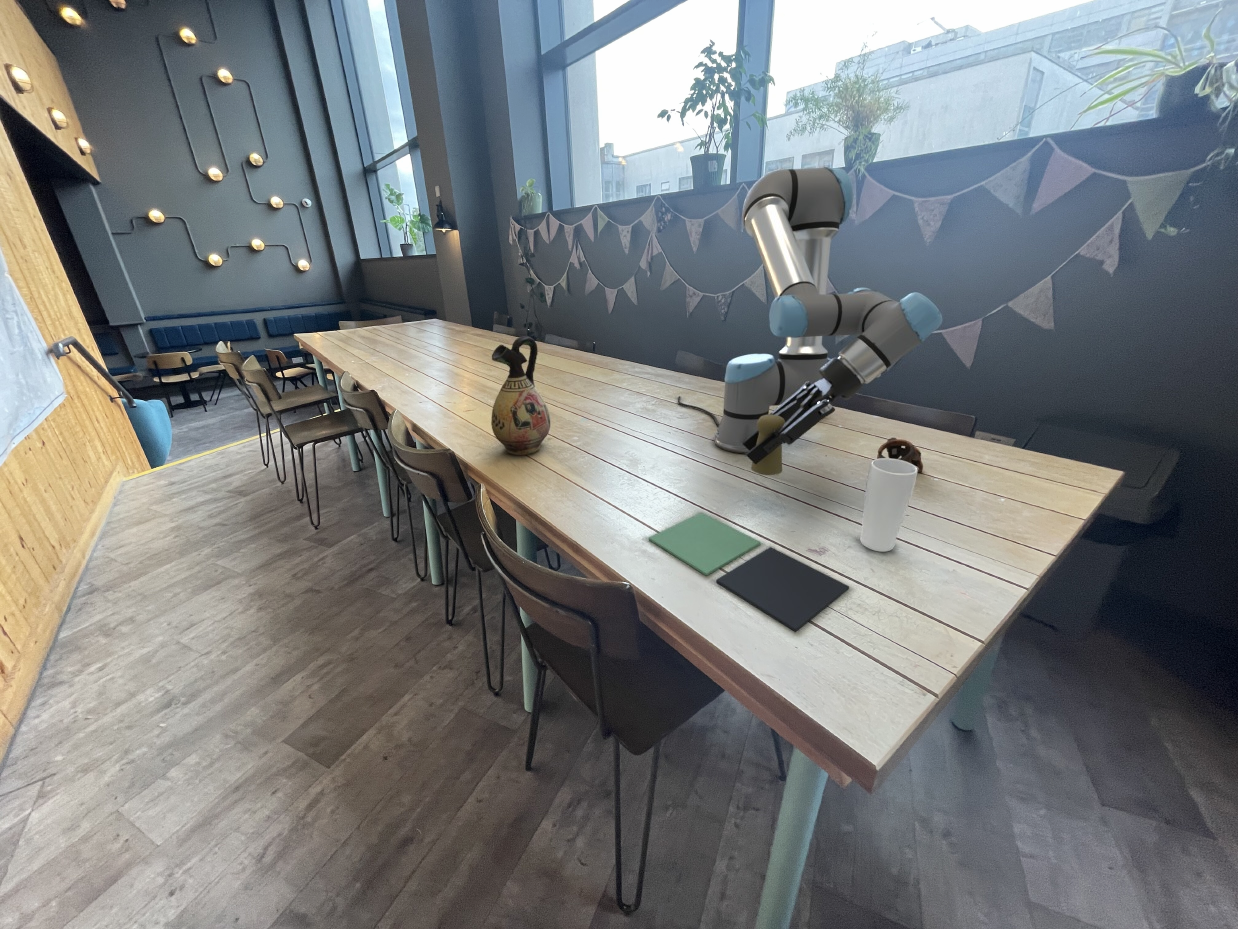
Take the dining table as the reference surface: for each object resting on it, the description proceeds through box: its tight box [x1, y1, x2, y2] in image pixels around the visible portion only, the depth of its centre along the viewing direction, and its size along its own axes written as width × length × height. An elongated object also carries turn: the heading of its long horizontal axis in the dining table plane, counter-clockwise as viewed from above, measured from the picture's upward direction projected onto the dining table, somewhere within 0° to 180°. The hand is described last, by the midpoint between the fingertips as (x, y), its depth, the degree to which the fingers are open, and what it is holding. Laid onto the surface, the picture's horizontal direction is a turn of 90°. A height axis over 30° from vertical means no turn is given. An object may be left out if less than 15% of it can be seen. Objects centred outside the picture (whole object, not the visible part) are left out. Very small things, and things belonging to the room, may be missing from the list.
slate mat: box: [715, 546, 850, 632], centre depth 72 cm, size 14×14×1 cm
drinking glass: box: [859, 457, 919, 553], centre depth 79 cm, size 7×7×15 cm
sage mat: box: [648, 512, 762, 577], centre depth 84 cm, size 14×14×1 cm
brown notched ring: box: [876, 437, 924, 473], centre depth 109 cm, size 12×10×8 cm
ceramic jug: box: [490, 335, 551, 456], centre depth 123 cm, size 17×15×30 cm
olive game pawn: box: [750, 415, 785, 476], centre depth 91 cm, size 6×6×11 cm
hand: (748, 453), depth 93 cm, fingers closed on olive game pawn, 5 cm apart
